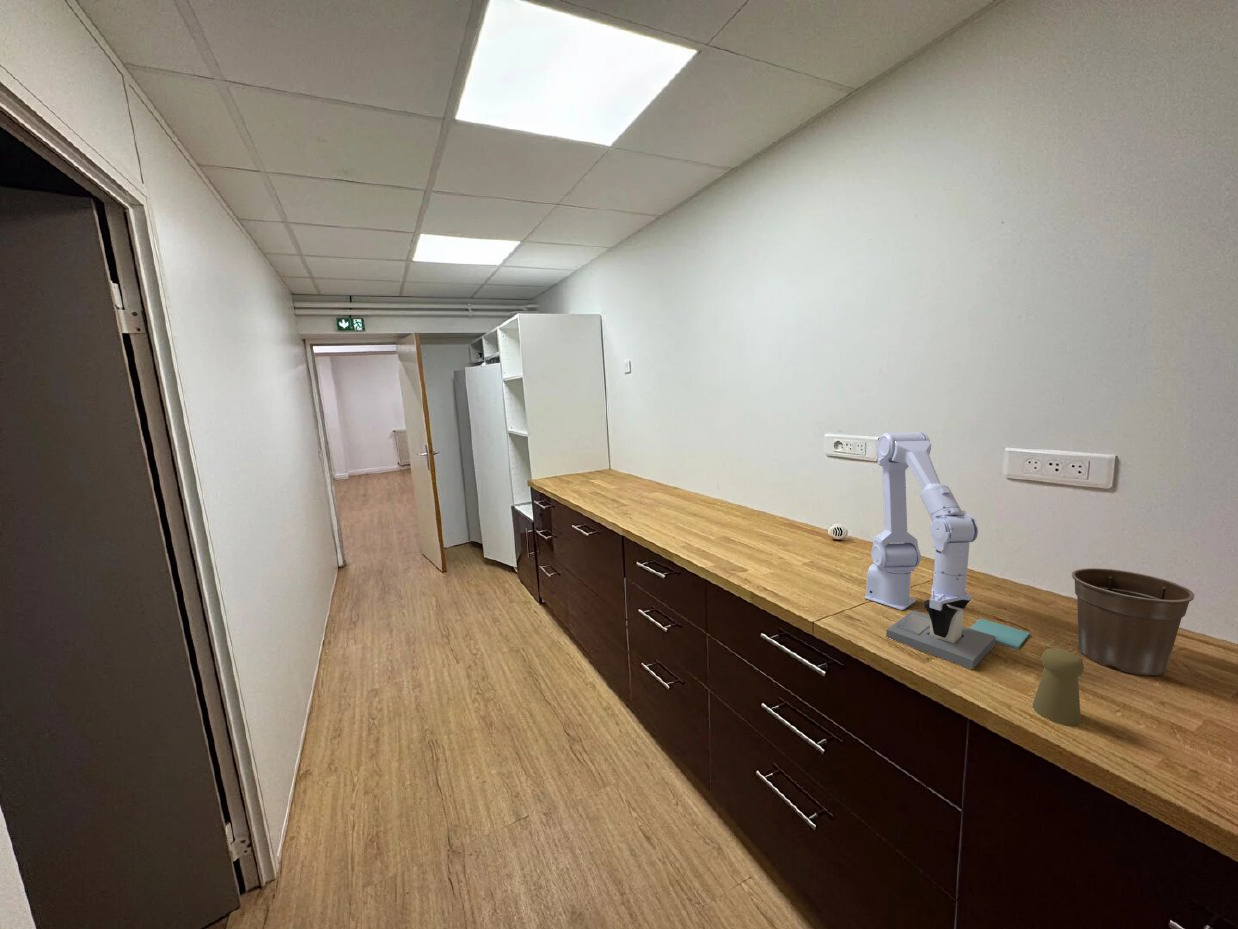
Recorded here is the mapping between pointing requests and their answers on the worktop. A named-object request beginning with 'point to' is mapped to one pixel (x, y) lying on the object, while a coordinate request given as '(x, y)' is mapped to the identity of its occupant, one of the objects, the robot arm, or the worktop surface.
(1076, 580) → the plant pot
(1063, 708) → the cork
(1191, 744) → the worktop surface
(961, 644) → the grey slotted board
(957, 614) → the plug
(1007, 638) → the mat
